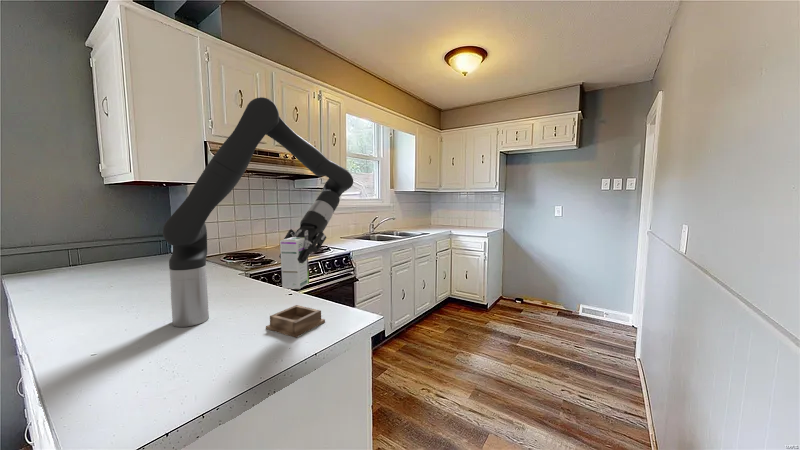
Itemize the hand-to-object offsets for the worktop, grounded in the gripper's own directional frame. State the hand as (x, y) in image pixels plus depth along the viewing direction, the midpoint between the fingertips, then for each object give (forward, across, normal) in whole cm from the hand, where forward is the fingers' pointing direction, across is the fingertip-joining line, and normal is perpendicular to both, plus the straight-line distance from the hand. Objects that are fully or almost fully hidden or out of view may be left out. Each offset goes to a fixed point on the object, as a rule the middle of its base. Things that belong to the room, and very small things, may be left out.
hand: (290, 260), depth 89 cm
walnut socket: (+13, 0, +15) cm, 20 cm away
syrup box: (+5, 0, +7) cm, 9 cm away
